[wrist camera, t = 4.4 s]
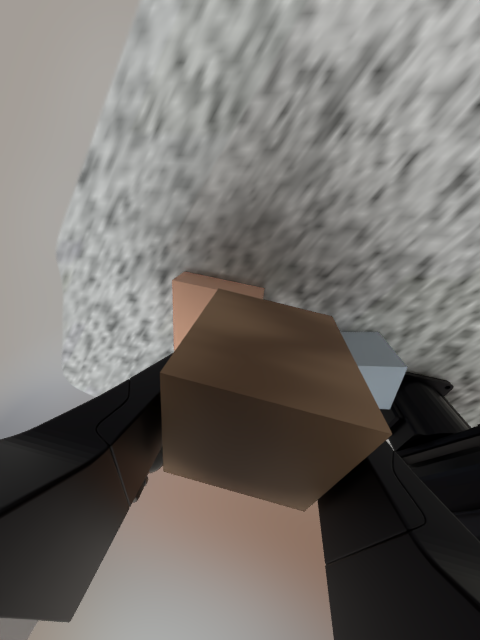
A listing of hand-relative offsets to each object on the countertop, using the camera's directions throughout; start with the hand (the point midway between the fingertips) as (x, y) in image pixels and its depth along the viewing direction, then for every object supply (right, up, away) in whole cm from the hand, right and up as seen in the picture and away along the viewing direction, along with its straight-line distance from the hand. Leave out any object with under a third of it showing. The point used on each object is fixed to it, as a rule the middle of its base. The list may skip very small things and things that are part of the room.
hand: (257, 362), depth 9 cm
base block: (-3, +3, +12) cm, 13 cm away
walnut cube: (0, +1, +1) cm, 1 cm away
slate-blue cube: (+11, -1, +12) cm, 16 cm away
